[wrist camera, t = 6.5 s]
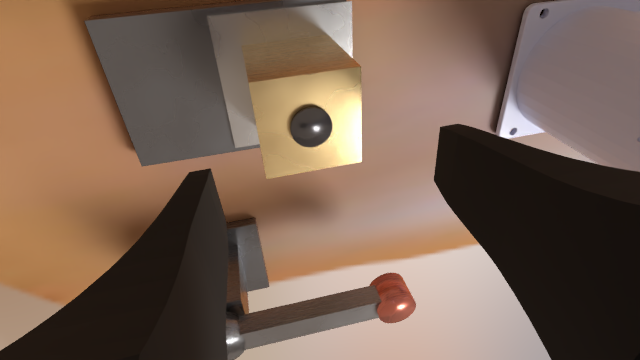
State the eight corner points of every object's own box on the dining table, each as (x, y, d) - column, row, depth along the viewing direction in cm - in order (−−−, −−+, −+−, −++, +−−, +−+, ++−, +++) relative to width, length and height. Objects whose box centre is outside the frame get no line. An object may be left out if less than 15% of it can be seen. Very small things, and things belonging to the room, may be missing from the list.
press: (344, -10, 18) (382, 8, 13) (350, 262, 28) (372, 319, 24) (66, 19, 16) (12, 49, 12) (183, 298, 26) (177, 365, 22)
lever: (404, 264, 22) (418, 288, 20) (401, 297, 23) (413, 322, 22) (182, 313, 20) (179, 344, 18) (196, 345, 22) (195, 376, 20)
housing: (327, 34, 17) (362, 68, 13) (332, 113, 20) (363, 164, 15) (241, 45, 17) (248, 84, 12) (256, 125, 19) (266, 181, 15)
